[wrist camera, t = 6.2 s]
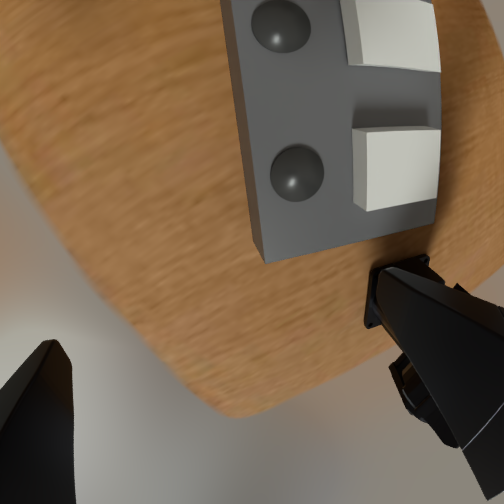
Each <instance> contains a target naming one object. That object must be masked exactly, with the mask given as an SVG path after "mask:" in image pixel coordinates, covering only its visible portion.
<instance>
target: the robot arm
mask: <svg viewBox="0 0 504 504" xmlns="http://www.w3.org/2000/svg"><path fill="white" fill-rule="evenodd" d="M429 261H430V257H429V256H428V255H426V254H423V255H419V256H416V257H413V258H410V259H406V260H403V261H400V262H397V263H393V264H390V265H387V266H383V267H380V268H376V269H374V270H373V271H372V272H371V274H370V280H369V290H368V298H367V306H366V314H365V321H364V325H365V327H366V328H367V329H370V328H373V327H376V326H379V325H382V326H383V327H384V329H385V330H386V331H387V332H388V334H389V335H390V336H391V337H392V339H393V340H394V341H395V343H396V344H397V345H398V346H399V348H400V349H401V350H402V351H403V353H402V354H401V355H400V356H399V357H398V359H397V360H396V361H395V362H393V363H392V364H391V365H390V366H389V369H390V371H391V374H392V377H393V380H394V382H395V384H396V387H397V389H398V391H399V394H400V396H401V398H402V401H403V403H404V405H405V407H406V409H407V410H408V412H409V413H410V414H411V415H414V416H415V417H416V418H418V419H419V420H421V421H423V422H425V423H428V424H429V425H430V426H431V427H432V429H433V430H434V431H435V433H436V434H437V435H438V436H439V438H440V439H441V441H442V442H443V443H444V444H445V445H448V446H450V447H453V448H458V447H460V448H461V449H462V452H463V453H464V456H465V458H466V459H467V461H468V463H469V465H470V467H471V469H472V471H473V473H474V475H475V477H476V479H477V481H478V483H479V485H480V487H481V490H482V492H483V494H484V496H485V498H486V499H487V501H489V500H491V499H492V498H494V497H495V496H497V495H498V494H500V493H502V492H503V491H504V308H503V307H500V306H498V307H497V306H496V305H495V304H492V303H490V302H487V301H484V300H482V299H479V298H477V297H474V296H472V295H470V294H469V293H468V292H467V291H466V290H465V289H463V288H462V287H461V286H460V285H459V284H458V283H456V285H455V286H454V288H450V287H448V286H446V285H445V281H444V280H443V279H442V278H441V277H440V276H439V275H438V274H437V273H435V272H434V271H433V270H432V269H431V268H430V267H428V266H429ZM376 274H377V275H376ZM375 275H376V276H375ZM72 387H73V385H72V364H71V361H70V359H69V357H68V356H67V354H66V353H65V351H64V349H63V348H62V346H61V345H60V343H59V342H58V341H57V340H55V339H52V340H45V341H43V342H42V343H41V344H40V345H39V346H38V347H37V348H36V349H35V350H34V352H33V353H32V354H31V355H30V356H29V357H28V358H27V359H26V360H25V362H24V363H23V364H22V365H21V366H20V367H19V368H18V370H17V371H16V372H15V373H14V374H13V375H12V376H11V378H10V379H9V380H8V381H7V382H6V383H5V385H4V386H3V387H2V388H1V389H0V504H76V495H75V480H74V445H73V444H74V439H73V438H74V437H73V436H74V406H73V388H72Z"/></svg>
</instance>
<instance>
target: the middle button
mask: <svg viewBox="0 0 504 504" xmlns="http://www.w3.org/2000/svg"><path fill="white" fill-rule="evenodd" d="M340 5H341V11H342V18H343V25H344V32H345V40H346V48H347V57H348V65H359V66H377V67H390V68H401V69H410V70H418V71H428V72H441V66H440V54H439V44H438V36H437V28H436V21H435V15H434V9H433V4H430V3H427V2H423V1H420V0H340Z"/></svg>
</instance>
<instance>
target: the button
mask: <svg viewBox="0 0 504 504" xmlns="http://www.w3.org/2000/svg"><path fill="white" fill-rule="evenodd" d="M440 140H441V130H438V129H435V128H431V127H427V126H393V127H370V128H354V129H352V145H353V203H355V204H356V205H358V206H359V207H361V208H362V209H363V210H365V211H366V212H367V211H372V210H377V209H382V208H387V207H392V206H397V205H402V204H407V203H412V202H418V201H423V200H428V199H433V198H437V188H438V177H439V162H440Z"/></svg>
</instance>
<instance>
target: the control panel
mask: <svg viewBox="0 0 504 504" xmlns="http://www.w3.org/2000/svg"><path fill="white" fill-rule="evenodd" d="M420 1H423V2H427V3H430V4H432V3H431V0H420ZM220 4H221V11H222V18H223V25H224V33H225V40H226V47H227V54H228V61H229V68H230V75H231V83H232V90H233V97H234V104H235V111H236V119H237V126H238V133H239V140H240V148H241V155H242V162H243V169H244V177H245V184H246V191H247V199H248V206H249V213H250V221H251V228H252V235H253V242H254V244H255V246H256V247H257V249H258V251H259V253H260V255H261V257H262V259H263V261H264V263H265V264H267V263H271V262H276V261H280V260H284V259H289V258H293V257H297V256H301V255H306V254H310V253H314V252H318V251H322V250H327V249H331V248H335V247H339V246H343V245H348V244H352V243H356V242H360V241H364V240H368V239H372V238H376V237H380V236H384V235H388V234H393V233H397V232H401V231H405V230H409V229H413V228H417V227H421V226H425V225H429V224H433V223H434V220H435V212H436V204H437V198H433V199H428V200H423V201H418V202H412V203H407V204H402V205H397V206H392V207H387V208H382V209H377V210H372V211H367V212H366V211H365V210H363V209H362V208H361V207H359V206H358V205H356V204H355V203H353V145H352V129H354V128H370V127H393V126H427V127H431V128H435V129H438V130H441V82H440V72H428V71H418V70H410V69H401V68H390V67H377V66H359V65H348V57H347V48H346V40H345V32H344V25H343V18H342V11H341V5H340V0H220ZM440 155H441V140H440ZM439 171H440V162H439ZM438 184H439V177H438ZM437 194H438V188H437Z"/></svg>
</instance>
